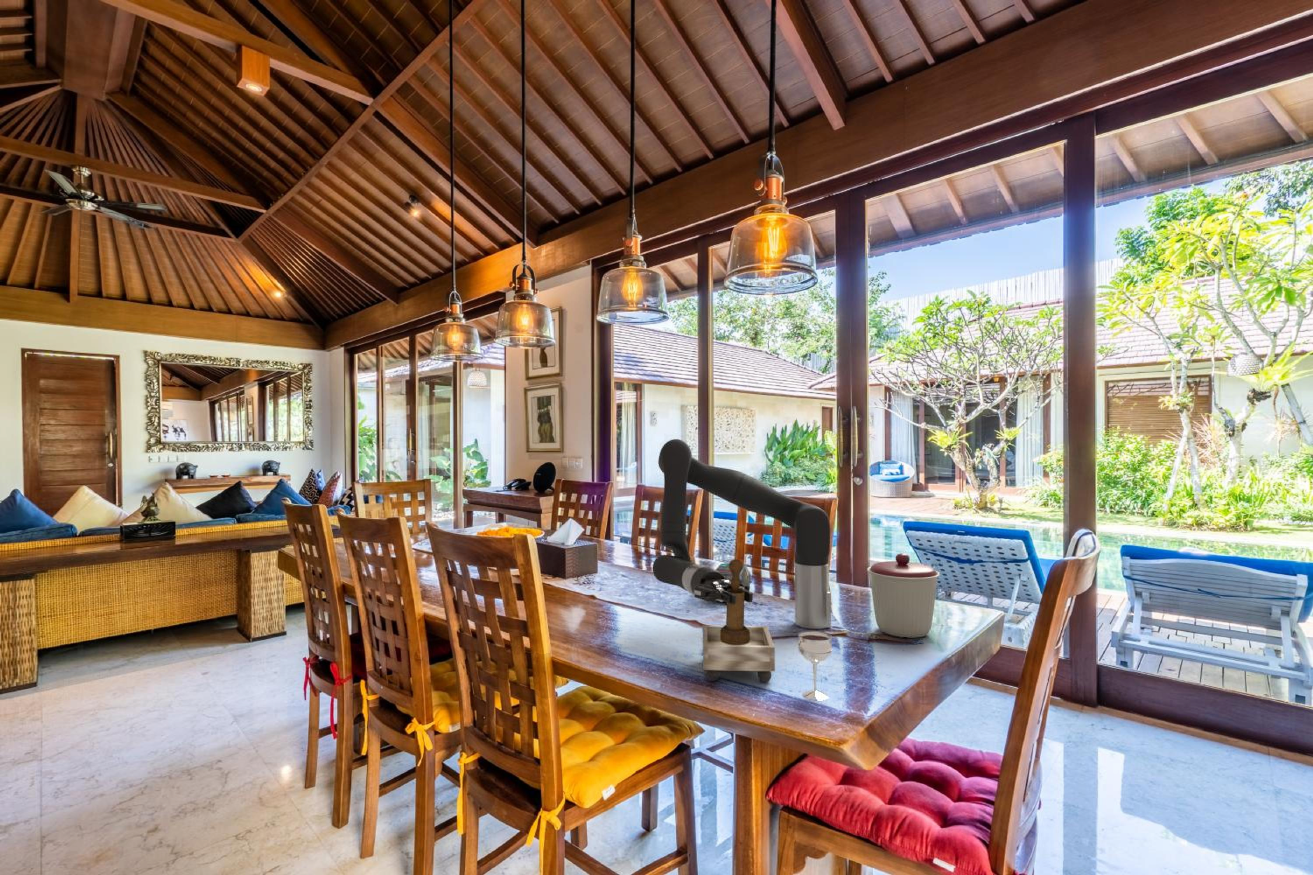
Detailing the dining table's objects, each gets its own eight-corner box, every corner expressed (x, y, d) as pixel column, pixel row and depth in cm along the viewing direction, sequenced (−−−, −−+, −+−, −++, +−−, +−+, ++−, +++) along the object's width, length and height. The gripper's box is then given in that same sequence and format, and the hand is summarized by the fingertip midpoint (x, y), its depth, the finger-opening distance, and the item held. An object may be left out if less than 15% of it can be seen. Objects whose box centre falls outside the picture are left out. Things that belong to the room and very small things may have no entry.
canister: (863, 621, 176) (863, 547, 176) (931, 624, 172) (930, 548, 173) (872, 641, 158) (871, 558, 159) (948, 645, 155) (947, 560, 155)
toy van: (751, 587, 218) (751, 559, 218) (742, 605, 194) (742, 573, 194) (721, 586, 221) (721, 558, 221) (709, 603, 197) (708, 572, 197)
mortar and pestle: (742, 647, 133) (742, 563, 133) (715, 641, 137) (716, 560, 137) (754, 639, 139) (755, 559, 139) (728, 634, 142) (729, 555, 142)
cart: (767, 660, 145) (767, 626, 145) (775, 685, 130) (774, 647, 130) (703, 659, 146) (702, 625, 146) (703, 684, 131) (702, 646, 131)
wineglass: (795, 699, 123) (795, 638, 123) (800, 686, 129) (800, 629, 129) (831, 704, 120) (830, 642, 120) (834, 691, 127) (833, 632, 127)
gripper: (677, 569, 148) (714, 584, 132) (728, 564, 154) (769, 578, 138) (677, 600, 148) (714, 619, 132) (727, 594, 154) (769, 612, 138)
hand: (742, 598), depth 135 cm, fingers closed on mortar and pestle, 4 cm apart
